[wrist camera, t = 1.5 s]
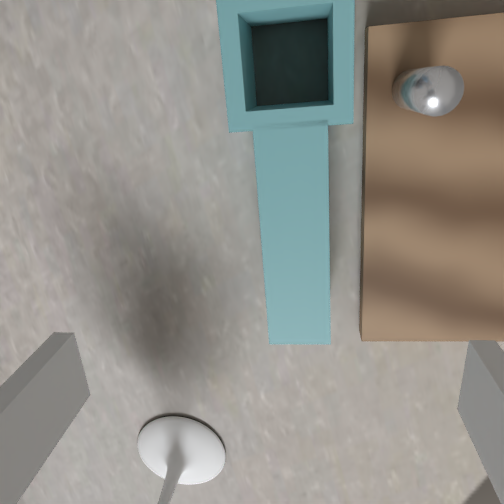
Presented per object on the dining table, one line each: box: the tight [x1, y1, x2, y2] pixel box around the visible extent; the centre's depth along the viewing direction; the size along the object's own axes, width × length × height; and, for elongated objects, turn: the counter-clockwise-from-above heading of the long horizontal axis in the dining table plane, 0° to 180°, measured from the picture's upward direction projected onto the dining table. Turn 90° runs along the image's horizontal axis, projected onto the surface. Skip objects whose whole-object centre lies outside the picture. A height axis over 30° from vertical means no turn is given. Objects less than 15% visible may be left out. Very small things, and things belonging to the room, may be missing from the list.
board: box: [359, 13, 504, 341], centre depth 27 cm, size 21×16×2 cm
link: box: [216, 0, 355, 344], centre depth 26 cm, size 20×7×6 cm, turn 5°
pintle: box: [392, 66, 464, 116], centre depth 22 cm, size 2×2×7 cm
